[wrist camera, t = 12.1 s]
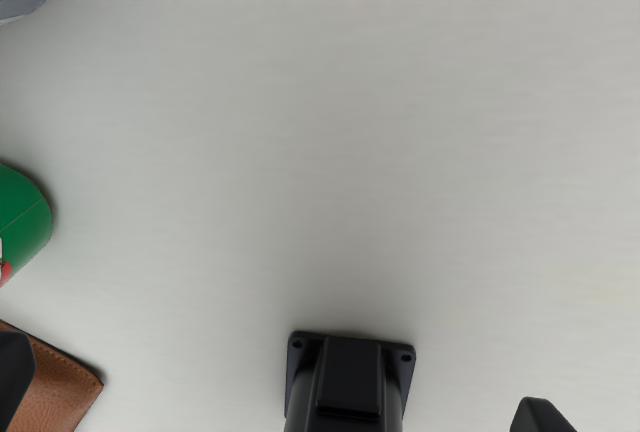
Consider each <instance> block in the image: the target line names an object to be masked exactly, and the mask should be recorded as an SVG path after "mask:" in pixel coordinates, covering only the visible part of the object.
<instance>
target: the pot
mask: <svg viewBox="0 0 640 432" xmlns="http://www.w3.org/2000/svg"><path fill="white" fill-rule="evenodd" d="M45 1H46V0H0V26H1V25H5V24H8V23H11V22H14V21H16V20H18V19H20V18H22V17H24V16H26V15H28V14H30V13H31V12H33V11H34V10H35V9H36V8H38V7H39V6H40V5H41V4H43V3H44V2H45Z"/></svg>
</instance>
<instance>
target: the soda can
mask: <svg viewBox="0 0 640 432" xmlns="http://www.w3.org/2000/svg"><path fill="white" fill-rule="evenodd" d="M52 228H53V225H52V216H51V212H50V208H49V206H48V203H47V201H46V199H45V197H44V195H43V194H42V192H41V191H40V190H39V188H38V187H37V186H36V185H35V184H34V183H33V182H32V181H31V180H29V179H28V178H27V177H26V176H24V175H23V174H21V173H20V172H18V171H16V170H14V169H12V168H10V167H7V166H5V165H2V164H0V288H1V287H2V286H3V285H4V284H5V283H6V282H7V281H8V280H9V279H10V278H11V277H12V276H14V275H15V274H16V273H17V272H18V271H19V270H20V269H21V268H22V267H23V266H24V265H25V264H26V263H27V262H29V261H30V260H31V259H32V258H33V257H34V256H35V255H36V254H37V253H38V252H39V251H40V250H41V249H42V248H44V247H45V246H46V244H47V243H48V241H49V240H50V237H51V235H52Z"/></svg>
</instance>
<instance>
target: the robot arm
mask: <svg viewBox="0 0 640 432" xmlns="http://www.w3.org/2000/svg"><path fill="white" fill-rule="evenodd" d="M296 341H300V342H299V343H298V342H296ZM404 354H408V356H404ZM415 362H416V351H415V349H414V348H413V347H412V346H409V345H404V344H396V343H388V342H380V341H372V340H363V339H355V338H347V337H339V336H331V335H323V334H315V333H307V332H293V333H291V334H290V336H289V340H288V350H287V371H286V392H285V413H284V416H285V418H286V423H285V428H284V432H402V420H403V415H404V411H405V406H406V402H407V397H408V393H409V388H410V384H411V380H412V375H413V371H414V366H415ZM35 373H36V360H35V356H34V353H33V349H32V346H31V343H30V339H29V337H28V335H27V334H26V333H25V332H22V331H15V330H0V432H6V431H7V429H8V427H9V425H10V423H11V421H12V419H13V417H14V415H15V413H16V411H17V409H18V407H19V406H20V404H21V402H22V400H23V398H24V396H25V394H26V392H27V390H28V388H29V386H30V384H31V382H32V380H33V378H34V376H35ZM510 432H577V431H576V430H575V429H574V427H573V426H572V425H571V424H570V423H569V422H568V421H567V420H566V419H565V418H564V416H563V415H562V414H561V413H560V412H559V411H558V410H557V409H556V408H555V406H554V405H553V404H552V403H551V402H549V401H548V400H546V399H541V398H533V397H524V398H523V399H522V400H521V401H520V403H519V406H518V409H517V411H516V414H515V416H514V419H513V421H512V424H511V427H510Z"/></svg>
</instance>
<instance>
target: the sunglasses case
mask: <svg viewBox="0 0 640 432" xmlns="http://www.w3.org/2000/svg"><path fill="white" fill-rule="evenodd" d="M0 330H15V331H21V330H19V329H17V328H15V327H13V326H11V325H9V324H7V323H4V322H2V321H0ZM22 332H23V331H22ZM26 334H27V333H26ZM27 335H28V337H29V339H30V343H31V346H32V349H33V353H34V356H35V360H36V373H35V376H34V378H33V380H32V382H31V384H30V386H29V388H28V390H27V392H26V394H25V396H24V398H23V400H22V402H21V404H20V406H19V407H18V409H17V411H16V413H15V415H14V417H13V419H12V421H11V423H10V425H9V427H8V429H7V431H6V432H74V430H75V428H76V427H77V425H78V424H79V422H80V421H81V419H82V418H83V417H84V415H85V414H86V413H87V411H88V409H89V408H90V407H91V405H92V404H93V403H94V401H95V400H96V399H97V397H98V395H99V394H100V393H101V391H102V389H103V387H104V384H103V383H102V382H101V380H100V379H99V377H98V376H97V375H96V374H95V373H94V372H92V371H91V370H89V369H88V368H86V367H85V366H83V365H81V364H80V363H79V362H77V361H76V360H74V359H73V358H71V357H70V356H68V355H66V354H65V353H63V352H61V351H60V350H58V349H56V348H54V347H53V346H51V345H49V344H47V343H45V342H43V341H41V340H39V339H37V338H35V337H33V336H31V335H29V334H27Z"/></svg>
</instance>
